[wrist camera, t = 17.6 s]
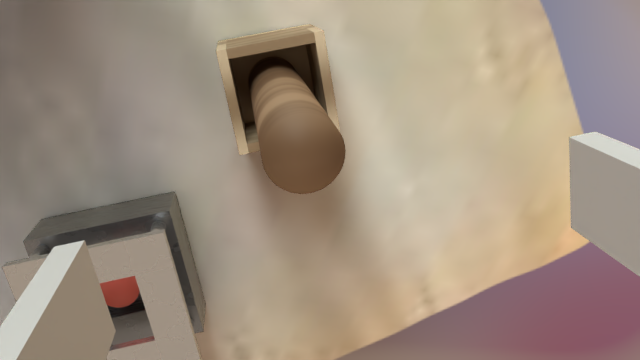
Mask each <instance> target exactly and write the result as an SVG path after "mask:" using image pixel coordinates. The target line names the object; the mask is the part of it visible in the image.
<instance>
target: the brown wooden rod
mask: <svg viewBox="0 0 640 360" xmlns="http://www.w3.org/2000/svg"><path fill="white" fill-rule="evenodd" d="M248 84H249V90H250V96H251V102H252V107H253V113H254V118H255V124H256V130H257V135H258V141H259V146H260V152H261V158H262V163H263V167H264V169H265V172H266V174H267V175H268V177H269V178H270V179H271V180H272V182H273V183H275V184H276V185H277V186H278V187H280V188H282V189H284V190H286V191H288V192H292V193H298V194H306V193H312V192H316V191H318V190H321V189H323V188H324V187H326V186H327V185H329V184H330V183H331V182H332V181H333V180H334V179H335V178H336V177H337V176H338V174H339V172H340V171H341V169H342V166H343V163H344V159H345V145H344V140H343V138H342V135H341V134H340V132H339V130H338V129H337V127H336V126H335V125H334V123H333V122H332V120H331V119H330V117H329V116H328V115H327V113H326V112H325V110H324V109H323V108H322V106H321V105H320V103H319V102H318V101H317V99H316V98H315V96H314V95H313V94H312V92H311V91H310V89H309V88H308V86H307V85H306V84H305V82H304V81H303V79H302V78H301V77H300V75H299V74H298V72H297V71H296V70H295V68H294V67H293V65H292V64H291V63H289V62H288V61H287V60H285V59H283V58H280V57H267V58H264V59H262V60H260V61H258V62H257V63H256V64H255V65H254V66H253V68H252V69H251V71H250V74H249V79H248Z"/></svg>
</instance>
